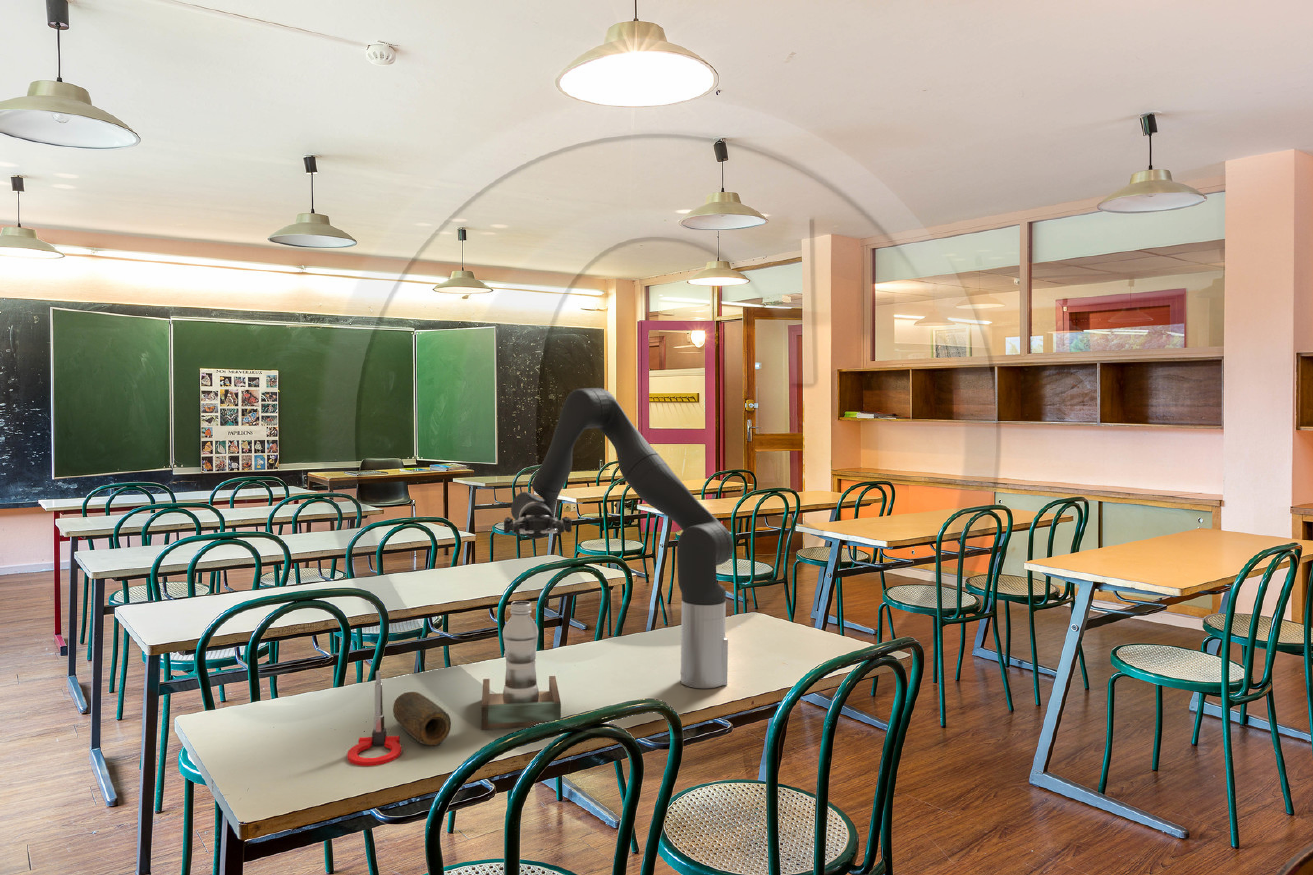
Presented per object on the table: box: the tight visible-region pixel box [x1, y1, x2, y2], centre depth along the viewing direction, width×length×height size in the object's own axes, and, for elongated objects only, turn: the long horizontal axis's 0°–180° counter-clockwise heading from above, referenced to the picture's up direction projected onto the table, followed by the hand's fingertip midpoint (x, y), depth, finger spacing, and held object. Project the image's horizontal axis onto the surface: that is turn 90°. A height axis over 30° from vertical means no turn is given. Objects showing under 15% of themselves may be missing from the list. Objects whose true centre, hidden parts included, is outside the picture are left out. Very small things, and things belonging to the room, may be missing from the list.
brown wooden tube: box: [392, 691, 452, 746], centre depth 149 cm, size 15×7×7 cm, turn 39°
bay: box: [480, 675, 562, 731], centre depth 161 cm, size 14×16×4 cm
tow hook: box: [346, 670, 402, 767], centre depth 141 cm, size 8×13×9 cm
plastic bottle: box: [502, 600, 540, 704], centre depth 159 cm, size 6×7×20 cm
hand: (539, 529), depth 176 cm, fingers open, 8 cm apart
